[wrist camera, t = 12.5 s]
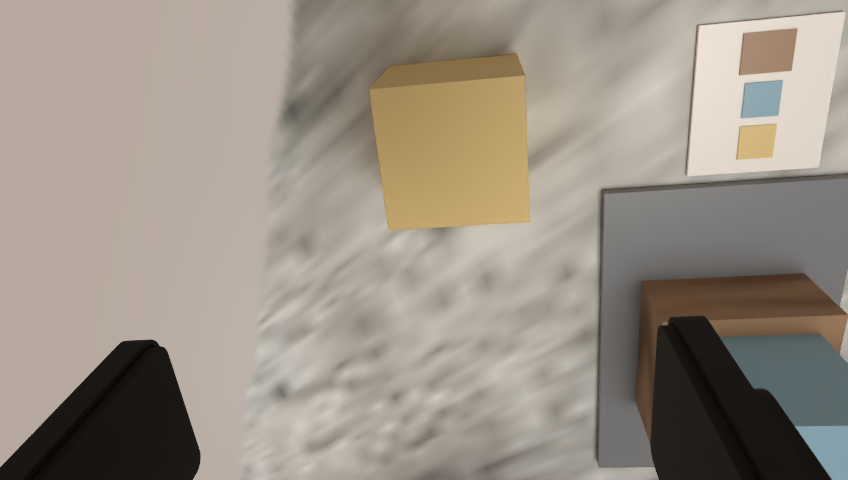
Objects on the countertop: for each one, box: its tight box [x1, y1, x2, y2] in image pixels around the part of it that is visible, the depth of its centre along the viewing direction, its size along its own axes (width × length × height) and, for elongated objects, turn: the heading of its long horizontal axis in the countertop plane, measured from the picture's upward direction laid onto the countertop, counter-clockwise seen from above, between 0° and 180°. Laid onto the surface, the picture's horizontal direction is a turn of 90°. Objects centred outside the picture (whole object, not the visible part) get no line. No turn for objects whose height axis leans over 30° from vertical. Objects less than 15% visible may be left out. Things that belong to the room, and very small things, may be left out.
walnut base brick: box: [636, 273, 848, 442], centre depth 31 cm, size 8×8×4 cm
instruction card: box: [686, 11, 845, 176], centre depth 28 cm, size 7×6×1 cm
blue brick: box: [720, 334, 848, 480], centre depth 26 cm, size 6×6×6 cm
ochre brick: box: [369, 54, 530, 230], centre depth 27 cm, size 6×6×6 cm
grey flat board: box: [597, 174, 848, 468], centre depth 33 cm, size 18×12×1 cm, turn 6°
